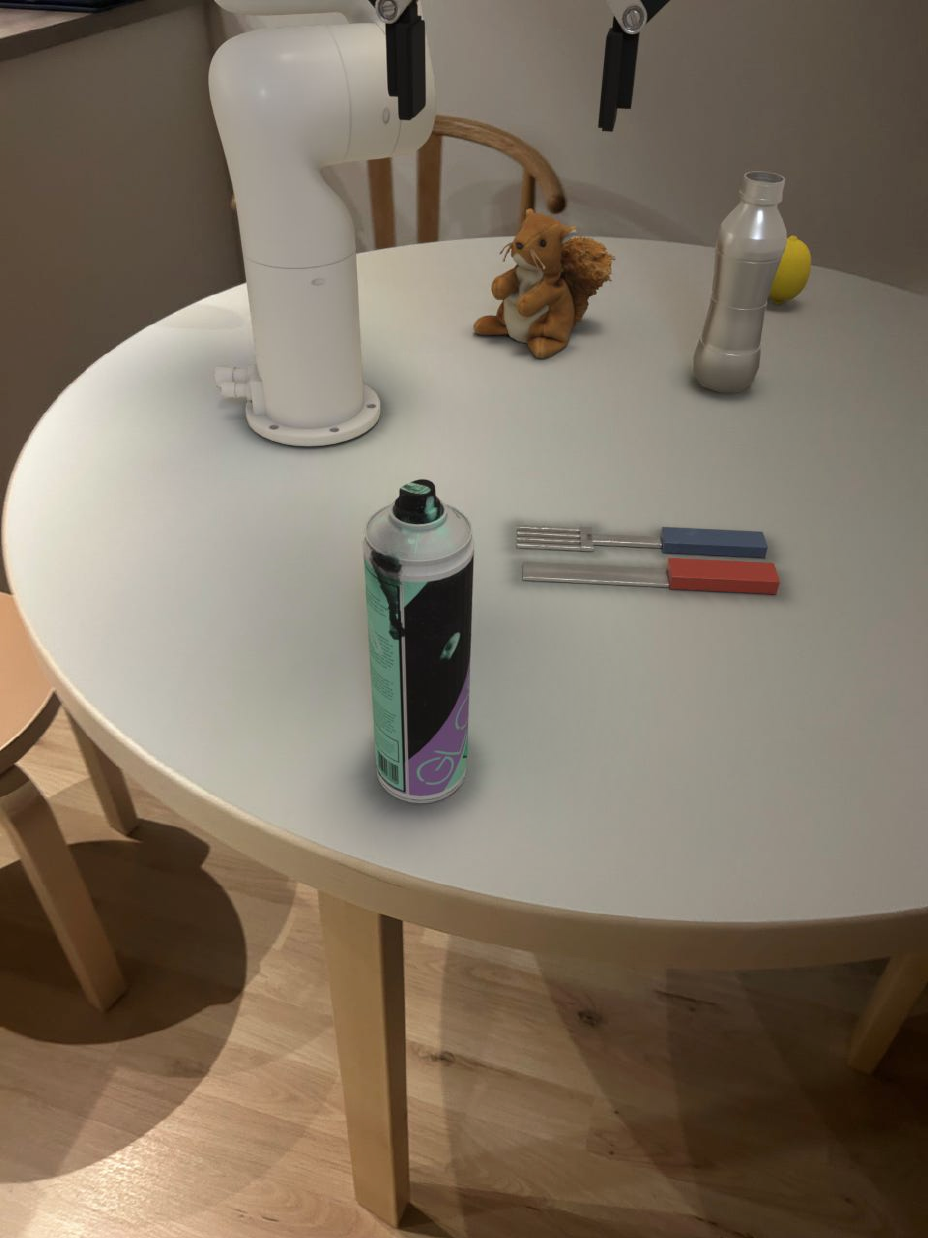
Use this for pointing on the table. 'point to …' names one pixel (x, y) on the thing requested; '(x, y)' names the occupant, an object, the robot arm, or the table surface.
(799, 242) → the lemon
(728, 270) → the plastic bottle
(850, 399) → the table surface
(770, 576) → the knife
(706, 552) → the fork
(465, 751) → the spray can
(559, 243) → the stuffed squirrel
